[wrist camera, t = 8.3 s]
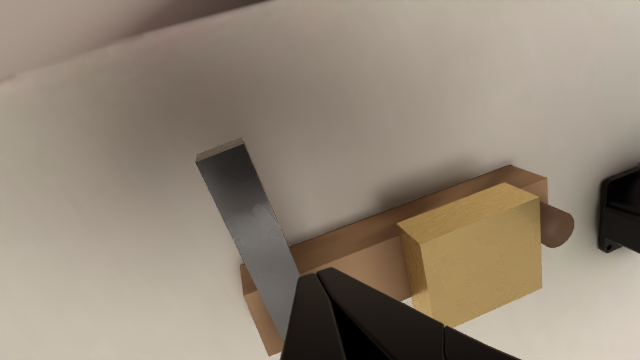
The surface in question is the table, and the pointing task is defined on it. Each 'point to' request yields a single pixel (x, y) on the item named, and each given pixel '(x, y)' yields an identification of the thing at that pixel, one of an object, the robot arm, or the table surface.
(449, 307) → the gold metal plate
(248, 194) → the lever
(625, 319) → the table surface
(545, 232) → the body
